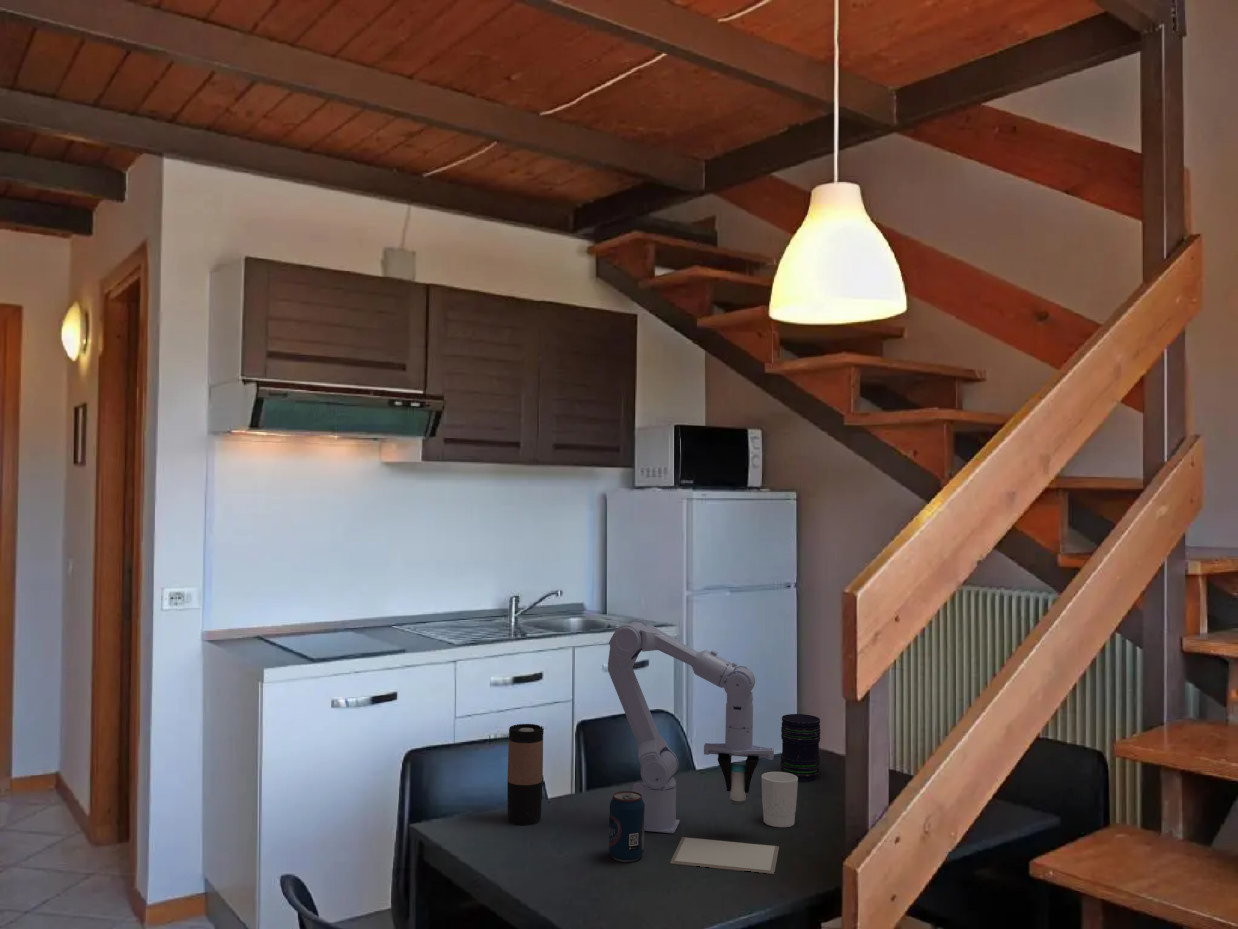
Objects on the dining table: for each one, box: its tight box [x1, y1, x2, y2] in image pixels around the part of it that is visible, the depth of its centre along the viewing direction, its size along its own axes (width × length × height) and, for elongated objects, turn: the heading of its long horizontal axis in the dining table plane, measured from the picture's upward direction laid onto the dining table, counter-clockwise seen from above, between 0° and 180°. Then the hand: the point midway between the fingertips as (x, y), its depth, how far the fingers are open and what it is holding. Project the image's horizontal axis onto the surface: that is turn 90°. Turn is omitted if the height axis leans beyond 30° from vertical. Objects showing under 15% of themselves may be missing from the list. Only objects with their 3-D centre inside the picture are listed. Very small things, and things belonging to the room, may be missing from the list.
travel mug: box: [506, 723, 544, 826], centre depth 217 cm, size 8×8×20 cm
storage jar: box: [780, 713, 821, 784], centre depth 254 cm, size 10×10×15 cm
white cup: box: [761, 771, 799, 828], centre depth 219 cm, size 8×8×10 cm
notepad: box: [669, 836, 780, 875], centre depth 198 cm, size 20×15×1 cm
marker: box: [729, 761, 747, 806], centre depth 210 cm, size 3×3×8 cm
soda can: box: [608, 790, 645, 863], centre depth 197 cm, size 7×7×12 cm
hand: (737, 791), depth 210 cm, fingers closed on marker, 3 cm apart
